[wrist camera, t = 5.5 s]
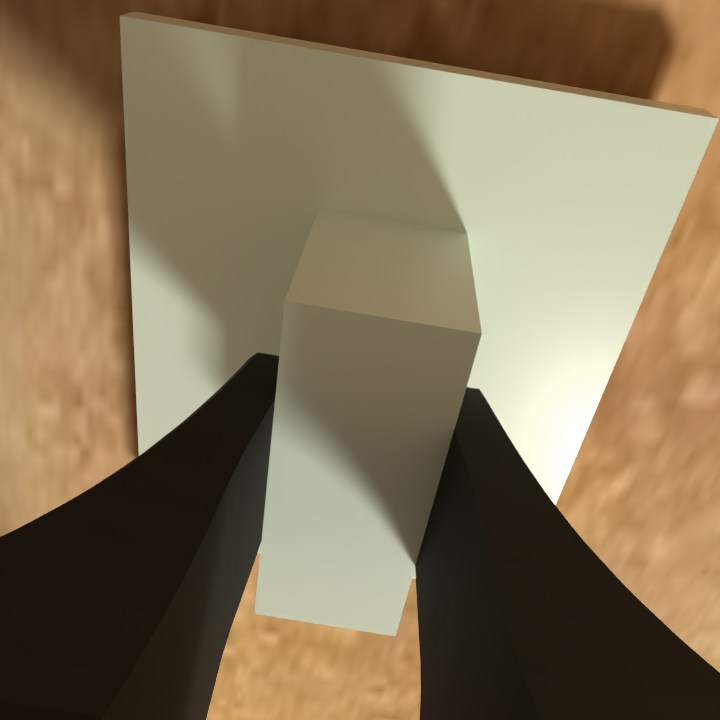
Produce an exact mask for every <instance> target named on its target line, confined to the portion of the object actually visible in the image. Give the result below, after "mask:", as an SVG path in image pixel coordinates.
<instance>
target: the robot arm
mask: <svg viewBox="0 0 720 720" xmlns="http://www.w3.org/2000/svg"><path fill="white" fill-rule="evenodd" d="M278 364H279V356H277V355H271V354H265V353H259V352H258V353H256V354H254V355H253V356H251V357H250V358H249V359H248V360H247V361H246V362H245V363H244V365H243V366H242V367H241V368H240V369H239V370H238V371H237V372H236V373H235V374H234V375H233V376H232V377H231V378H230V379H229V380H228V381H227V382H226V383H225V384H224V385H223V386H222V387H221V388H220V389H219V390H218V391H217V392H215V393H214V394H213V395H212V396H211V397H210V398H209V399H208V400H207V401H206V402H204V403H203V404H202V405H201V406H200V407H199V408H198V409H197V410H195V411H194V412H193V413H192V414H191V415H190V416H189V417H188V418H186V419H185V420H184V421H183V422H182V423H181V424H179V425H178V426H177V427H176V428H174V429H173V430H172V431H171V432H169V433H168V434H167V435H165V436H164V437H163V438H162V439H160V440H159V441H158V442H156V443H155V444H154V445H153V446H151V447H150V448H149V449H148V450H146V451H145V452H144V453H142V454H141V455H140V456H138V457H137V458H135V459H134V460H132V461H131V462H130V463H128V464H127V465H125V466H124V467H123V468H121V469H120V470H118V471H117V472H115V473H114V474H112V475H111V476H109V477H107V478H106V479H104V480H103V481H101V482H100V483H98V484H97V485H95V486H93V487H92V488H90V489H89V490H87V491H85V492H84V493H82V494H80V495H79V496H77V497H75V498H73V499H72V500H70V501H68V502H66V503H65V504H63V505H61V506H59V507H57V508H56V509H54V510H52V511H50V512H48V513H46V514H44V515H43V516H41V517H39V518H37V519H35V520H33V521H32V522H30V523H28V524H26V525H24V526H22V527H20V528H18V529H16V530H14V531H12V532H10V533H8V534H6V535H4V536H2V537H0V720H206V717H207V713H208V709H209V705H210V701H211V697H212V693H213V689H214V685H215V681H216V677H217V673H218V669H219V665H220V661H221V658H222V654H223V651H224V648H225V645H226V641H227V638H228V635H229V632H230V629H231V626H232V623H233V620H234V617H235V614H236V612H237V609H238V606H239V603H240V600H241V598H242V595H243V592H244V589H245V586H246V583H247V581H248V578H249V575H250V572H251V569H252V566H253V564H254V561H255V558H256V555H257V552H258V549H259V547H260V544H261V541H262V531H263V520H264V510H265V499H266V489H267V479H268V468H269V458H270V447H271V437H272V427H273V416H274V406H275V395H276V385H277V375H278ZM415 572H416V590H417V607H418V624H419V642H420V659H421V706H420V720H720V673H719V672H718V671H717V670H716V669H714V668H713V667H712V666H711V665H710V664H708V663H707V662H706V661H705V660H704V659H703V658H702V657H700V656H699V655H698V654H697V653H696V652H695V651H693V650H692V649H691V648H690V647H689V646H688V645H687V644H685V643H684V642H683V641H682V640H681V639H680V638H679V637H678V636H676V635H675V634H674V633H673V632H672V631H671V630H670V629H669V628H668V627H667V626H666V625H665V624H664V623H663V622H662V621H661V620H660V619H658V618H657V617H656V616H655V615H654V614H653V613H652V612H651V611H650V610H649V609H648V608H647V607H646V606H645V605H644V604H643V603H642V602H640V601H639V600H638V599H637V598H636V597H635V596H634V595H633V594H632V593H631V592H630V591H629V590H628V589H627V588H626V587H625V585H624V584H623V583H622V582H621V581H620V580H619V579H618V578H617V577H616V576H615V575H614V574H613V573H612V572H611V571H610V570H609V568H608V567H607V566H606V565H605V564H604V563H603V562H602V561H601V560H600V559H599V557H598V556H597V555H596V554H595V553H594V552H593V551H592V550H591V549H590V548H589V546H588V545H587V544H586V543H585V542H584V541H583V539H582V538H581V537H580V536H579V535H578V534H577V532H576V531H575V530H574V529H573V528H572V526H571V525H570V524H569V523H568V521H567V520H566V519H565V517H564V516H563V515H562V514H561V512H560V511H559V510H558V508H557V507H556V506H555V504H554V503H553V502H552V501H551V499H550V498H549V496H548V495H547V494H546V492H545V491H544V490H543V488H542V487H541V485H540V484H539V482H538V481H537V479H536V478H535V476H534V475H533V474H532V472H531V471H530V469H529V468H528V466H527V465H526V463H525V462H524V460H523V459H522V457H521V456H520V454H519V453H518V451H517V449H516V448H515V446H514V445H513V443H512V441H511V440H510V438H509V437H508V435H507V433H506V432H505V430H504V429H503V427H502V425H501V424H500V422H499V420H498V418H497V417H496V415H495V413H494V412H493V410H492V408H491V407H490V405H489V403H488V402H487V400H486V398H485V397H484V395H483V394H482V392H481V391H480V389H476V388H470V387H466V391H465V394H464V398H463V401H462V405H461V408H460V412H459V415H458V419H457V422H456V426H455V428H454V432H453V435H452V439H451V442H450V446H449V449H448V453H447V456H446V460H445V463H444V467H443V470H442V474H441V477H440V481H439V484H438V488H437V491H436V495H435V498H434V502H433V505H432V509H431V512H430V516H429V519H428V523H427V526H426V530H425V533H424V537H423V541H422V544H421V548H420V551H419V555H418V558H417V562H416V565H415Z"/></svg>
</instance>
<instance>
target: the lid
mask: <svg viewBox="0 0 720 720" xmlns="http://www.w3.org/2000/svg"><path fill="white" fill-rule="evenodd" d="M120 37H121V60H122V83H123V106H124V129H125V152H126V174H127V197H128V220H129V243H130V266H131V289H132V312H133V335H134V358H135V381H136V403H137V426H138V449H139V456H140V455H141V454H142V453H144V452H145V451H146V450H148V449H149V448H150V447H151V446H153V445H154V444H155V443H156V442H158V441H159V440H160V439H162V438H163V437H164V436H165V435H167V434H168V433H169V432H171V431H172V430H173V429H174V428H176V427H177V426H178V425H179V424H181V423H182V422H183V421H184V420H185V419H186V418H188V417H189V416H190V415H191V414H192V413H193V412H194V411H195V410H197V409H198V408H199V407H200V406H201V405H202V404H203V403H204V402H206V401H207V400H208V399H209V398H210V397H211V396H212V395H213V394H214V393H215V392H217V391H218V390H219V389H220V388H221V387H222V386H223V385H224V384H225V383H226V382H227V381H228V380H229V379H230V378H231V377H232V376H233V375H234V374H235V373H236V372H237V371H238V370H239V369H240V368H241V367H242V366H243V365H244V363H245V362H246V361H247V360H248V359H249V358H250V357H251V356H253V355H254V354H256V353H258V352H259V353H265V354H271V355H277V356H279V364H278V375H277V385H276V395H275V406H274V416H273V427H272V437H271V447H270V458H269V468H268V479H267V489H266V499H265V510H264V520H263V531H262V541H261V544H260V547H259V549H258V552H257V553H259V554H260V562H259V572H258V583H257V593H256V604H255V614H260V615H266V616H272V617H278V618H285V619H291V620H297V621H303V622H309V623H316V624H322V625H328V626H334V627H341V628H347V629H353V630H359V631H365V632H372V633H378V634H384V635H390V636H396V633H397V629H398V626H399V622H400V619H401V615H402V612H403V608H404V605H405V601H406V598H407V594H408V591H409V587H410V584H411V580H412V578H413V579H416V572H415V565H416V562H417V558H418V555H419V551H420V548H421V544H422V541H423V537H424V533H425V530H426V526H427V523H428V519H429V516H430V512H431V509H432V505H433V502H434V498H435V495H436V491H437V488H438V484H439V481H440V477H441V474H442V470H443V467H444V463H445V460H446V456H447V453H448V449H449V446H450V442H451V439H452V435H453V432H454V428H455V426H456V422H457V419H458V415H459V412H460V408H461V405H462V401H463V398H464V394H465V391H466V387H470V388H476V389H480V391H481V392H482V394H483V395H484V397H485V398H486V400H487V402H488V403H489V405H490V407H491V408H492V410H493V412H494V413H495V415H496V417H497V418H498V420H499V422H500V424H501V425H502V427H503V429H504V430H505V432H506V433H507V435H508V437H509V438H510V440H511V441H512V443H513V445H514V446H515V448H516V449H517V451H518V453H519V454H520V456H521V457H522V459H523V460H524V462H525V463H526V465H527V466H528V468H529V469H530V471H531V472H532V474H533V475H534V476H535V478H536V479H537V481H538V482H539V484H540V485H541V487H542V488H543V490H544V491H545V492H546V494H547V495H548V496H549V498H550V499H551V501H552V502H553V503H554V504H555V505H556V503H557V500H558V498H559V496H560V493H561V491H562V489H563V486H564V484H565V481H566V479H567V477H568V474H569V472H570V470H571V467H572V465H573V463H574V460H575V458H576V456H577V453H578V451H579V448H580V446H581V444H582V441H583V439H584V437H585V434H586V432H587V430H588V427H589V425H590V422H591V420H592V418H593V415H594V413H595V411H596V408H597V406H598V404H599V401H600V399H601V396H602V394H603V392H604V389H605V387H606V385H607V382H608V380H609V378H610V375H611V373H612V370H613V368H614V366H615V363H616V361H617V359H618V356H619V354H620V352H621V349H622V347H623V345H624V342H625V340H626V337H627V335H628V333H629V330H630V328H631V326H632V323H633V321H634V319H635V316H636V314H637V311H638V309H639V307H640V304H641V302H642V300H643V297H644V295H645V293H646V290H647V288H648V285H649V283H650V281H651V278H652V276H653V274H654V271H655V269H656V267H657V264H658V262H659V259H660V257H661V255H662V252H663V250H664V248H665V245H666V243H667V241H668V238H669V236H670V233H671V231H672V229H673V226H674V224H675V222H676V219H677V217H678V215H679V212H680V210H681V208H682V205H683V203H684V200H685V198H686V196H687V193H688V191H689V189H690V186H691V184H692V182H693V179H694V177H695V174H696V172H697V170H698V167H699V165H700V163H701V160H702V158H703V156H704V153H705V151H706V148H707V146H708V144H709V141H710V139H711V137H712V134H713V132H714V130H715V127H716V125H717V122H718V120H719V118H717V117H716V116H714V115H712V114H711V113H709V112H708V111H706V110H705V109H700V108H694V107H688V106H682V105H677V104H671V103H665V102H659V101H653V100H648V99H642V98H636V97H630V96H624V95H618V94H613V93H607V92H601V91H595V90H589V89H584V88H578V87H572V86H566V85H560V84H555V83H549V82H543V81H537V80H531V79H525V78H520V77H514V76H508V75H502V74H496V73H491V72H485V71H479V70H473V69H467V68H462V67H456V66H450V65H444V64H438V63H432V62H427V61H421V60H415V59H409V58H403V57H398V56H392V55H386V54H380V53H374V52H369V51H363V50H357V49H351V48H345V47H339V46H334V45H328V44H322V43H316V42H310V41H305V40H299V39H293V38H287V37H281V36H276V35H270V34H264V33H258V32H252V31H246V30H241V29H235V28H229V27H223V26H217V25H212V24H206V23H200V22H194V21H188V20H183V19H177V18H171V17H165V16H159V15H153V14H148V13H142V12H136V11H134V12H131V13H127V14H124V15H120Z"/></svg>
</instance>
